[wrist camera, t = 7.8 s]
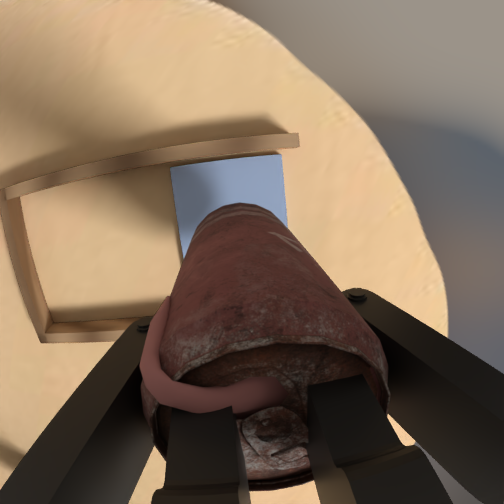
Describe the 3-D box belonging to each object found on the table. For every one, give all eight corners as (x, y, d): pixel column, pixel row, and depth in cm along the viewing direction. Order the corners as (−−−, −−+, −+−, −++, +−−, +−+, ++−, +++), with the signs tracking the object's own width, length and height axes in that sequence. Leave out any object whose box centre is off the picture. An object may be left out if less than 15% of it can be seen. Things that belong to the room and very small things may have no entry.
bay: (49, 332, 24) (40, 343, 22) (10, 187, 20) (-3, 190, 18) (303, 307, 26) (309, 319, 24) (291, 134, 21) (298, 132, 19)
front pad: (193, 307, 25) (193, 309, 24) (170, 167, 21) (169, 167, 21) (290, 294, 25) (292, 296, 25) (280, 154, 22) (281, 154, 21)
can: (212, 182, 18) (174, 261, 4) (306, 228, 19) (450, 369, 6) (172, 271, 19) (102, 463, 6) (261, 309, 20) (311, 505, 7)
